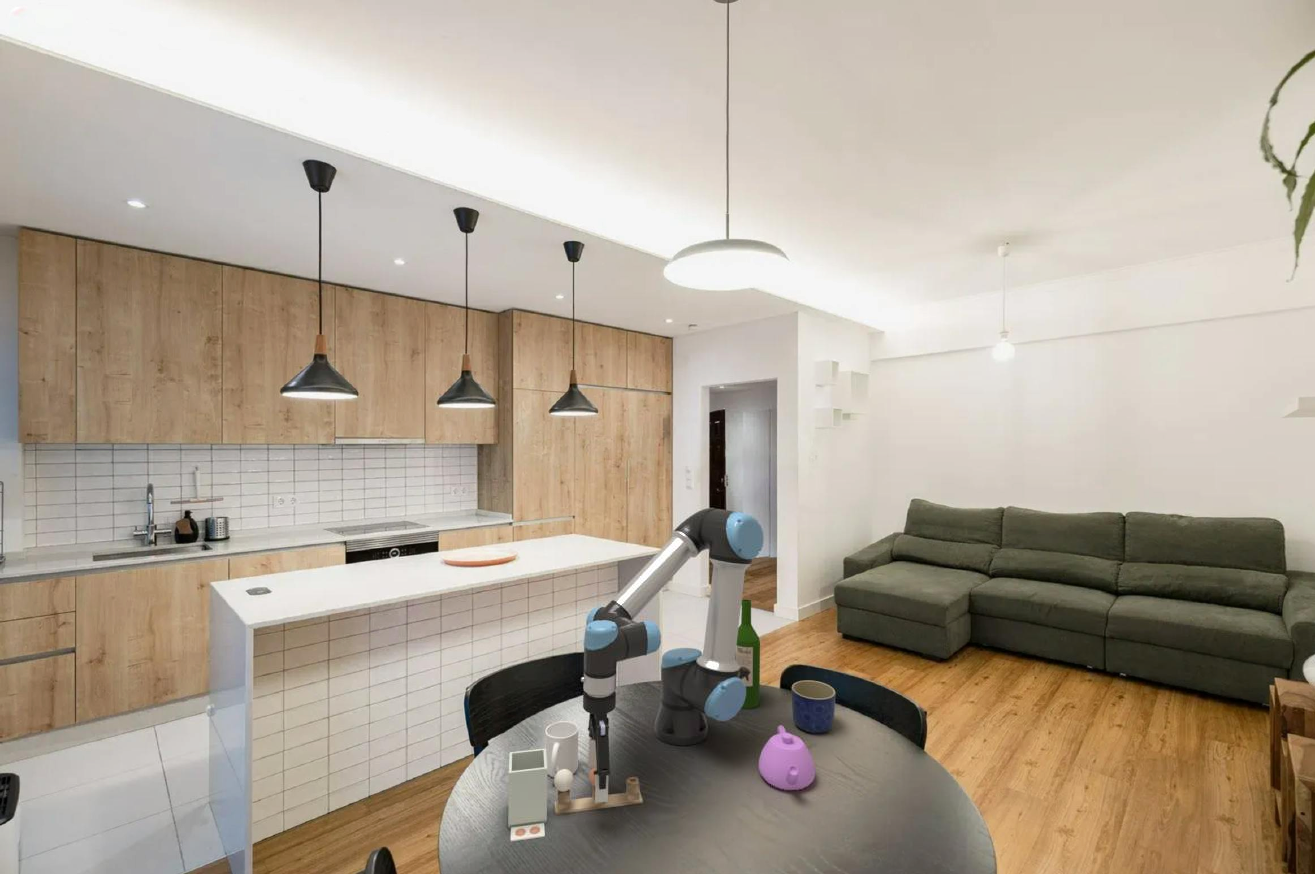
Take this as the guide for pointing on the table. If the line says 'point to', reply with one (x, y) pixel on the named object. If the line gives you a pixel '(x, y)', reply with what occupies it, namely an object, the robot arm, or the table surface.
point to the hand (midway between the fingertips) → (597, 782)
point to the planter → (813, 706)
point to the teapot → (786, 762)
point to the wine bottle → (748, 657)
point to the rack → (589, 803)
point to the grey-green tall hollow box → (527, 788)
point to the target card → (527, 832)
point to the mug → (561, 747)
